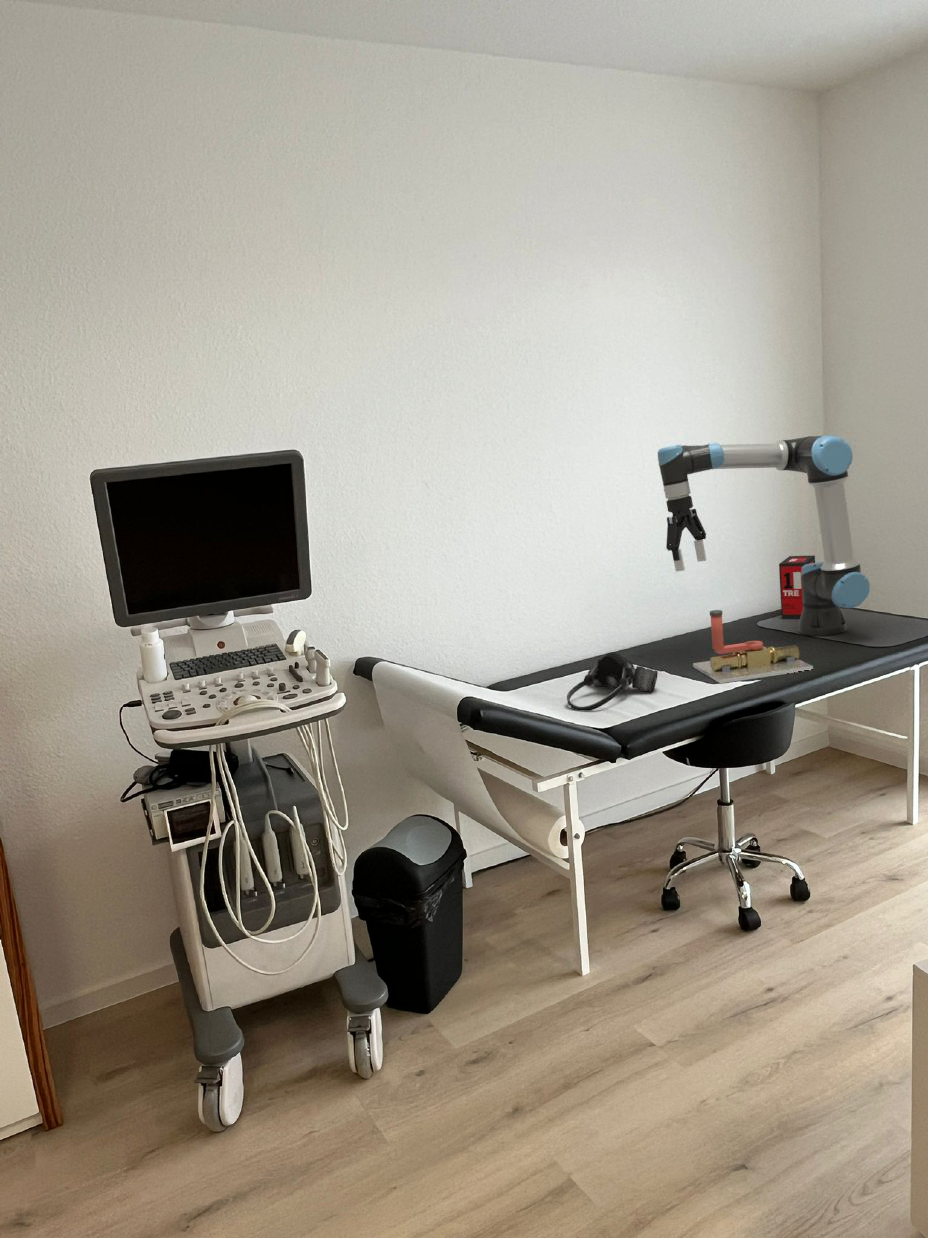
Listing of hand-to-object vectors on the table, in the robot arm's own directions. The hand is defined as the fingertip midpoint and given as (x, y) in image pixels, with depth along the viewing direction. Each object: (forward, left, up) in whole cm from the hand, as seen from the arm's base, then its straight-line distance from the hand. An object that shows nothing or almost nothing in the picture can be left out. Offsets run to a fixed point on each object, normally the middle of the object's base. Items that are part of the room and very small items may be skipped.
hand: (691, 565), depth 297 cm
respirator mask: (+36, +22, -31) cm, 52 cm away
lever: (-7, +15, -24) cm, 29 cm away
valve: (-11, +15, -30) cm, 36 cm away
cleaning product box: (-56, -45, -31) cm, 78 cm away
